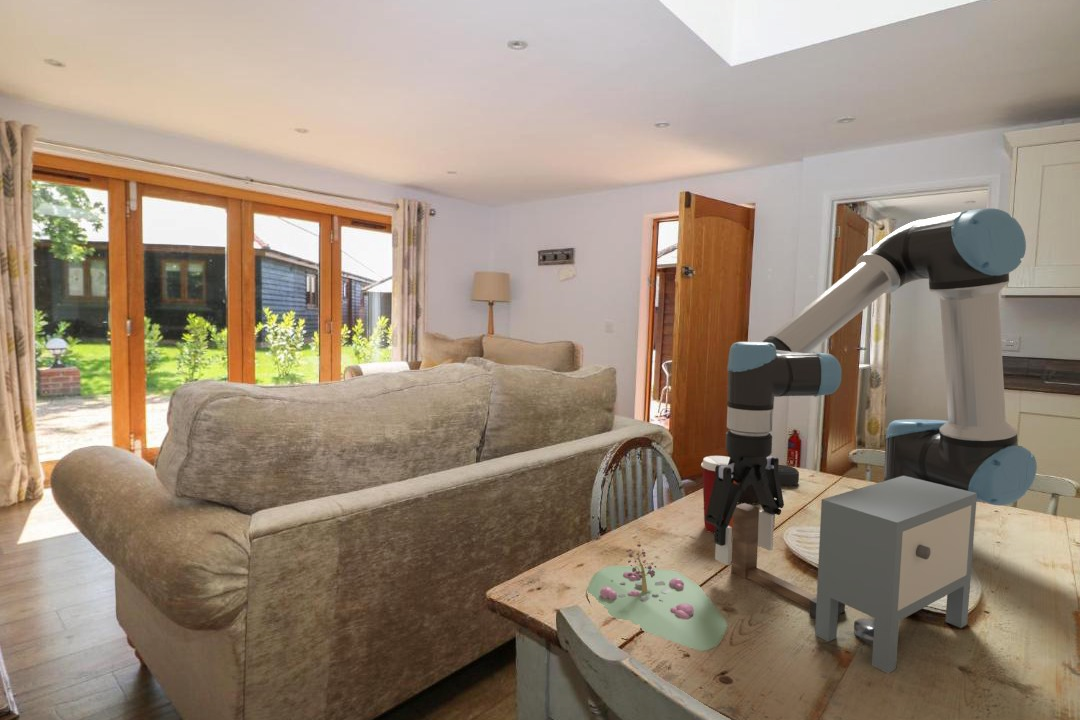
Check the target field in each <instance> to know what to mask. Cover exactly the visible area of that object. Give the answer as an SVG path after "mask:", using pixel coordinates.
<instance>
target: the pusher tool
mask: <svg viewBox="0 0 1080 720" xmlns="http://www.w3.org/2000/svg"><path fill="white" fill-rule="evenodd" d="M759 511H760V508H759V507H756V506H755V505H753V504H746V503H743V504H742V503H738V504H737V506H736V508H735V510H734V513H733V533H732V540H731V564H730V565H731V567H730V569H731V570H730V572H731V573H733V574H735V575H737V576H739V577H741V578H744V579H749V580H751V581H753V582H755V583H757V584H759V585H761V586H764V587H765V588H766V589H769V590H771V591H773V592H775V593H777V594H779V595H781V596H783V597H785V598H787V599H789V600H792V601H794V602H796V603H798V604H800V605H801V606H803V607H805V608H807V609H809V611H808V612H809V613H808V614H809V615H808V616H809V617H811V618H813V619H815V620H816V603H817V594H814V593H813V592H810V591H808V590H805V589H804V588H801V587H799V586H797V585H795V584H793V583H791V582H788V581H787V580H785V579H783V578H780V577H778V576H776V575H774V574H772V573H769V572H767V571H765V570H763V569H761V568H758V547H759V546H758V523H759ZM845 611H846V605H845V604H843V603H841V602H839V601H838V615H839V614H842V613H843V612H845Z"/></svg>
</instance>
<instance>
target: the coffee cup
mask: <svg viewBox="0 0 1080 720" xmlns="http://www.w3.org/2000/svg"><path fill="white" fill-rule="evenodd" d="M702 459H703V460H702V462H701V464H700V467H702V491H703V492H702V493H703V519H704V529H705V530H706V531H707V532H709V533H712V534H714V531H715V526H714V525H713V524H711V523H708V522H706V521H705V518H706V514H707V509H708V505H709V501H710V497H711V493H712V489H713V485H714V481H715V467H716V465H721V466H725V465H728V463H729V460H730V457H728V456H726V455H709V456H705V457H703V458H702ZM733 483H735V484H737V483H736V482H735V481H733ZM738 485H739V484H738ZM722 519H723V518H722ZM728 526H730V527H732V533H733V515H732V518H731V520H730V522H729V525H728Z"/></svg>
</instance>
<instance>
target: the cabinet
mask: <svg viewBox="0 0 1080 720" xmlns="http://www.w3.org/2000/svg"><path fill="white" fill-rule="evenodd" d="M976 500H977V493H974V492H970V491H966V490H962V489H957V488H953V487H949V486H945V485H941V484H936V483H932V482H928V481H924V480H920V479H915V478H911V477H907V476H900V477H897V478H894V479H890V480H887V481H884V480H883V481H880V482H877V483H873V484H869V485H865V486H863V487H859V488H856V489H853V490H850V491H846V492H842V493H839V494H836V495H835V494H834V495H832V496H829V497H825V498H821V503H820V504H821V505H820V506H821V508H820V525H819V526H820V527H819V528H820V529H819V544H818V545H819V546H818V547H819V548H818V565H817V566H818V567H817V582H816V585H817V586H816V595H817V603H816V619H815V624H814V625H815V627H814V636H815V637H817V638H820V639H822V640H823V641H825V642H827V643H829V642H831V641H833V640H835V639H837V634H838V617H839V614H838V601H839V602H841V603H843V604H845V606H848V607H850V608H852V609H853V610H855V611H858V612H861V613H863V614H865V615H867V616H869V617H871V618H873V619H874V620H875V621H874V638H873V645H872V657H871V658H872V659H871V666H872V667H874V668H877V669H878V670H880V671H882V672H884V673H886V674H889V673H891V672H893V671H895V670H896V669H897V660H898V659H897V658H898V645H899V642H898V641H899V630H900V629H899V625H900V621H903V620H904V619H906V618H908V617H909V616H911V615H913V614H915V613H917V612H919V611H920V610H922V609H923V608H926V607H927V606H930V605H931V604H933V603H935V602H937V601H939V600H940V599H942V598H944V597H946V606H945V607H946V609H945V620H944V621H945V623H948V624H950V625H952V626H954V627H957V628H959V629H962V628H963V627H965V626H968V617H969V606H970V605H969V603H970V592H971V591H970V590H971V578H972V577H971V576H972V566H973V564H972V563H973V554H974V553H973V551H974V538H975V525H976V524H975V523H976V513H977V512H976V511H977V501H976Z"/></svg>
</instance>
